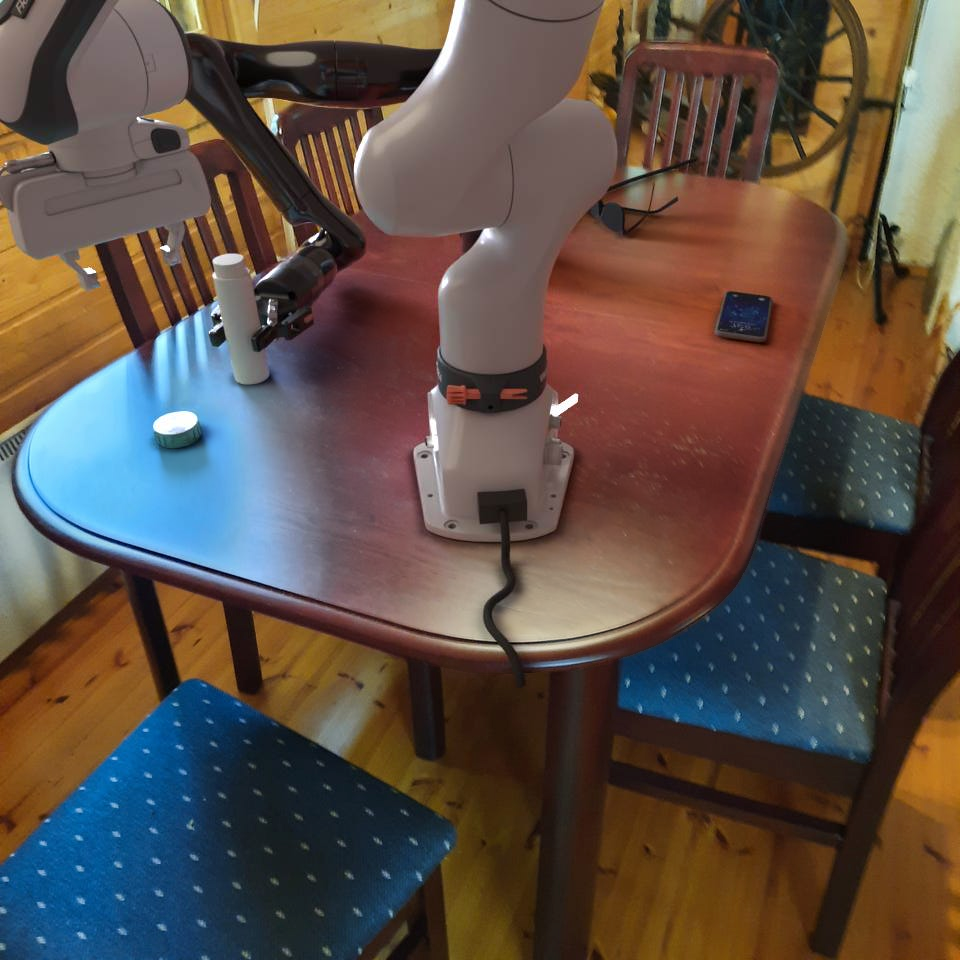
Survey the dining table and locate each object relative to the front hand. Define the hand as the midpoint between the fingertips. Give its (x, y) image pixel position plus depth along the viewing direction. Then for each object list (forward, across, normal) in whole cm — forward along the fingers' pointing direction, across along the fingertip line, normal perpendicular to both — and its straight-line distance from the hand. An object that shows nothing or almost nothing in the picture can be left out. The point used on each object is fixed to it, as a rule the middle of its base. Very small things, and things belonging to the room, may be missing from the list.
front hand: (133, 275), depth 93 cm
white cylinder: (+21, +14, +7) cm, 26 cm away
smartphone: (+22, +76, -30) cm, 85 cm away
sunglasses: (+20, +98, +8) cm, 101 cm away
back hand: (+14, +12, +6) cm, 20 cm away
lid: (+19, 0, 0) cm, 19 cm away
